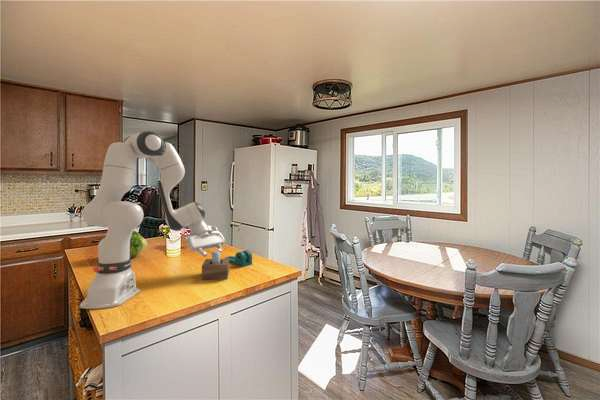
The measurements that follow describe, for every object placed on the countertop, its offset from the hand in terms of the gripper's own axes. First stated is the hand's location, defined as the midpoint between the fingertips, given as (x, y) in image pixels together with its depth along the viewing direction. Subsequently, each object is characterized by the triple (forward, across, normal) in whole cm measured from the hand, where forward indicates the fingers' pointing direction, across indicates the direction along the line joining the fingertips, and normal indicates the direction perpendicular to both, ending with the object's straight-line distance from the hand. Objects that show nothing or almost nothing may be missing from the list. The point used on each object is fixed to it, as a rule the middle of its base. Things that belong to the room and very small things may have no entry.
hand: (213, 254), depth 150 cm
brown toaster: (+9, 0, +6) cm, 11 cm away
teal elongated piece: (+2, +23, +13) cm, 26 cm away
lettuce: (-40, -12, +56) cm, 70 cm away
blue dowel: (+9, 0, +6) cm, 11 cm away
